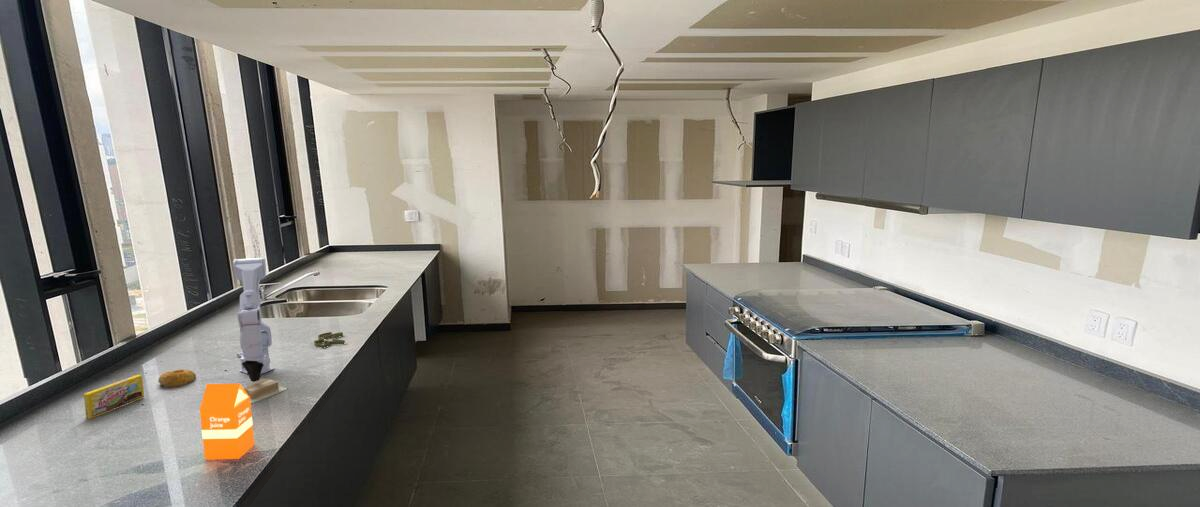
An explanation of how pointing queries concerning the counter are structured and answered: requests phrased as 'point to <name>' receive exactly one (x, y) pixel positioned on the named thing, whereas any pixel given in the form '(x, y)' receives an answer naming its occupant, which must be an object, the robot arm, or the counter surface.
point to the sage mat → (268, 395)
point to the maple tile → (261, 388)
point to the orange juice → (226, 421)
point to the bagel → (176, 378)
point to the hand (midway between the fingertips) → (255, 380)
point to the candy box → (113, 396)
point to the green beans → (326, 336)
